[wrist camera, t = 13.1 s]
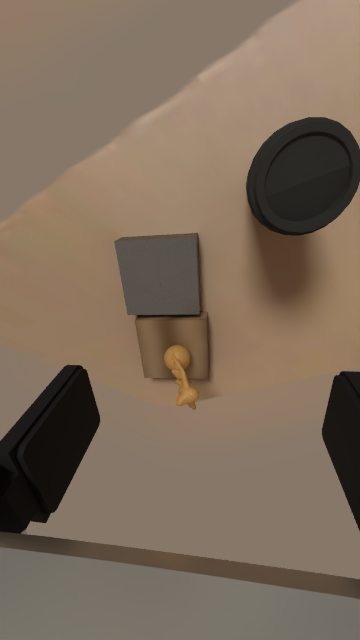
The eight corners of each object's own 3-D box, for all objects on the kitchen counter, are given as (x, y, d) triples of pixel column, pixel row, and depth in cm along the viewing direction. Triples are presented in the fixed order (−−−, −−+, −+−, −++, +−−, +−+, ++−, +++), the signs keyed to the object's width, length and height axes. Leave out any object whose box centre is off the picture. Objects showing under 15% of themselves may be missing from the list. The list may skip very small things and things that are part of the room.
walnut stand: (207, 311, 42) (206, 320, 39) (209, 368, 47) (208, 379, 44) (140, 312, 44) (134, 320, 41) (148, 367, 48) (144, 377, 46)
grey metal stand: (197, 233, 37) (195, 236, 34) (200, 306, 42) (199, 314, 39) (121, 237, 38) (114, 241, 36) (133, 306, 43) (127, 314, 41)
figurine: (159, 330, 41) (138, 381, 31) (197, 324, 40) (189, 374, 29) (173, 373, 45) (159, 432, 34) (209, 368, 43) (205, 428, 33)
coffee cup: (314, 204, 33) (375, 217, 20) (247, 227, 36) (263, 253, 22) (301, 128, 30) (365, 85, 17) (229, 160, 32) (235, 144, 19)
